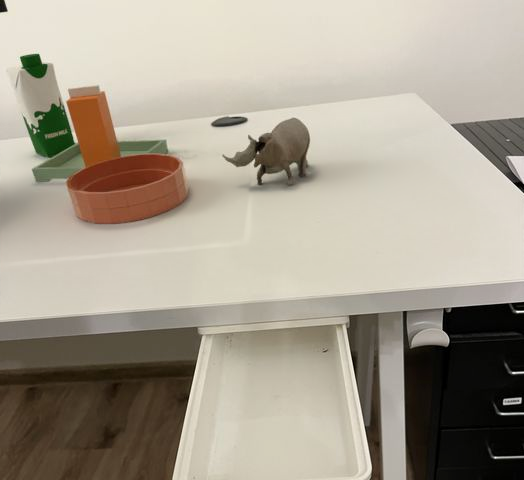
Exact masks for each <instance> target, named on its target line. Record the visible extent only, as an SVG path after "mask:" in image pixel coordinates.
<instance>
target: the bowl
mask: <svg viewBox="0 0 524 480" xmlns="http://www.w3.org/2000/svg"><path fill="white" fill-rule="evenodd" d="M65 184H66V189H67V191H68V195H69V197H70V198H69V199H70V201H71V204H72V207H73V210H74V213H75V216H76V217H77V218H79V219H80V220H81V221H84V222H89V223H93V224H100V225H101V224H106V225H107V224H109V225H113V224H122V223H131V222H136V221H140V220H144V219H145V220H146V219H149V218H153V217H155V216H158V215H160V214H163V213H166V212H168V211H170V210H173V209H174V208H175V207H177V206H179V205H180V204H182V203H183V202H184V201H185V200H186V199H187V198H188V195H189V184H188V180H187V174H186V170H185V163H184V161H183V160H182V159H181V158H180V157H178V156H176V155H173V154H167V153H166V154H159V153H149V154H135V155H127V156H122V157H117V158H112V159H108V160H104V161H101V162H98V163H95V164H92V165H89V166H87V167H85V168H82V169H80V170H79V171H77V172H75V173H74V174H72V175H71V176H70V177H69V178H67V180H66V181H65Z"/></svg>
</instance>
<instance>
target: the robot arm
mask: <svg viewBox="0 0 524 480" xmlns="http://www.w3.org/2000/svg"><path fill="white" fill-rule="evenodd" d="M8 12H9V10H8V7H7V3H6V0H0V14H1V13H2V14H3V13H8Z"/></svg>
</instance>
